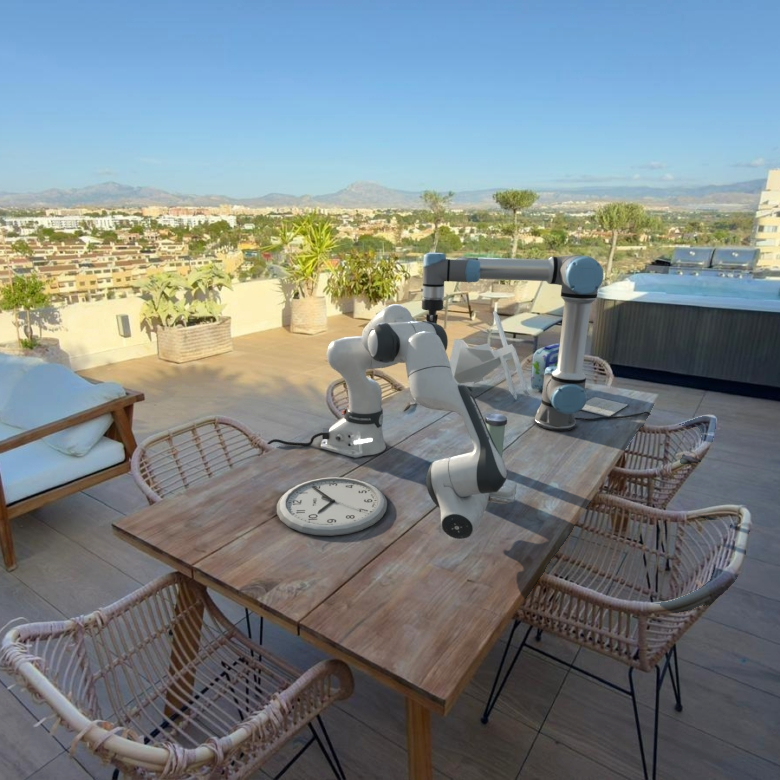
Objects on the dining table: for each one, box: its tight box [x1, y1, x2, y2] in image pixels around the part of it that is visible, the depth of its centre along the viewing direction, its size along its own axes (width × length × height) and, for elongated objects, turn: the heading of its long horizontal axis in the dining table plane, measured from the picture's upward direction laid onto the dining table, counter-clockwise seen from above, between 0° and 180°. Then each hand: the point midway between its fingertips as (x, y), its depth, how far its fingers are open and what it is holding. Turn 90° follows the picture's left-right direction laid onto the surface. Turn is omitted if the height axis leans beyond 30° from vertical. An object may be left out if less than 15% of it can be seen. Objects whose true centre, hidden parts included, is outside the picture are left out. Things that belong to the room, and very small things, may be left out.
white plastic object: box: [449, 310, 531, 400], centre depth 245 cm, size 37×45×31 cm
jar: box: [486, 423, 506, 459], centre depth 164 cm, size 6×6×17 cm
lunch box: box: [530, 343, 560, 391], centre depth 249 cm, size 26×11×21 cm, turn 134°
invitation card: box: [580, 396, 629, 417], centre depth 226 cm, size 21×1×15 cm
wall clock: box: [276, 476, 388, 537], centre depth 142 cm, size 30×2×30 cm
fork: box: [403, 397, 418, 412], centre depth 222 cm, size 3×16×2 cm, turn 160°
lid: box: [484, 413, 508, 426], centre depth 162 cm, size 7×7×2 cm
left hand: (481, 473), depth 143 cm, fingers open, 8 cm apart
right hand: (430, 357), depth 190 cm, fingers open, 13 cm apart
